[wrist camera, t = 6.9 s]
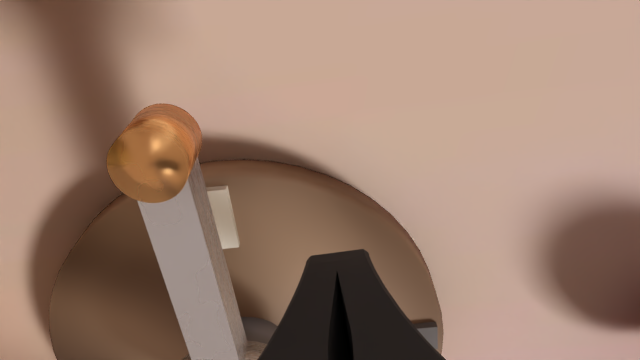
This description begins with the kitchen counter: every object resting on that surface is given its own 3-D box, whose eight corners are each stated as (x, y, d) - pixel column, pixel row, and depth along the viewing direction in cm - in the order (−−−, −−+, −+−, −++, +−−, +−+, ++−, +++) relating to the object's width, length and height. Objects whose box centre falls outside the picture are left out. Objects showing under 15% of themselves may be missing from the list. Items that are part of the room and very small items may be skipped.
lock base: (288, 484, 29) (285, 555, 25) (2, 348, 24) (-45, 415, 21) (513, 300, 23) (544, 362, 20) (195, 73, 18) (171, 108, 15)
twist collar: (326, 437, 21) (327, 486, 19) (188, 451, 21) (176, 501, 20) (257, 90, 15) (249, 116, 13) (58, 117, 15) (24, 146, 13)
